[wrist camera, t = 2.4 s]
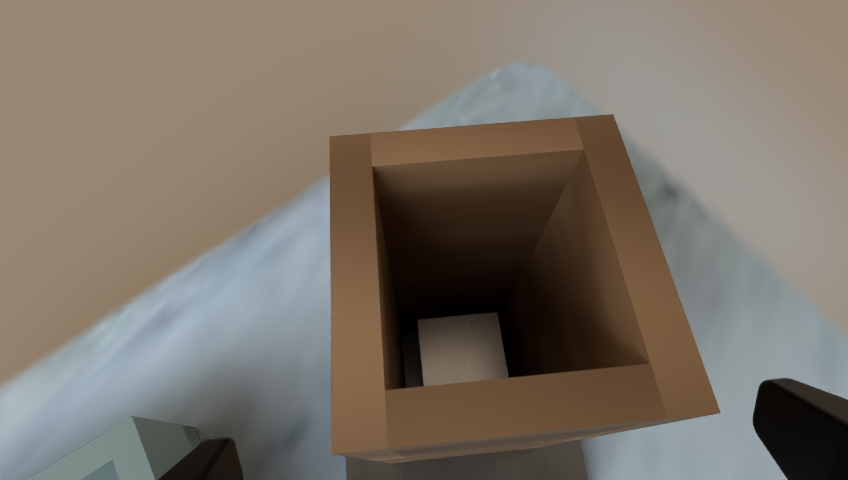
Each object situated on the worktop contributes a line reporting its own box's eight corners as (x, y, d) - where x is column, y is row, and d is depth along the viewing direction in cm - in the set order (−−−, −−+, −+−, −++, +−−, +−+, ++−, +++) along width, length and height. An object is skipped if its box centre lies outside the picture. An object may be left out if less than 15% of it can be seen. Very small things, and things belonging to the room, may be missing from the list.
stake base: (584, 491, 16) (641, 499, 12) (350, 518, 15) (322, 536, 11) (536, 274, 19) (567, 222, 15) (345, 292, 19) (322, 243, 15)
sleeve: (536, 447, 16) (720, 413, 6) (390, 463, 16) (331, 454, 6) (510, 308, 18) (613, 114, 8) (382, 320, 18) (329, 136, 8)
